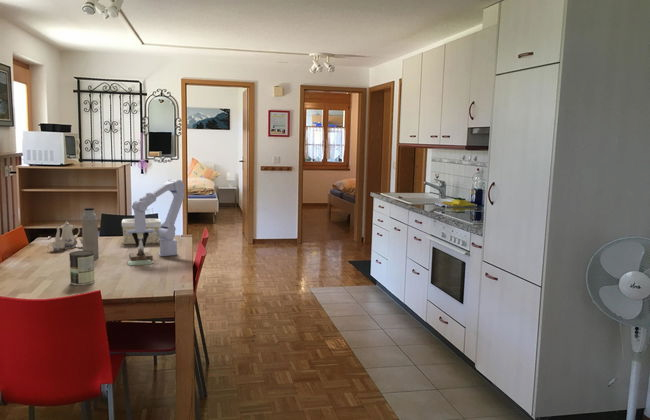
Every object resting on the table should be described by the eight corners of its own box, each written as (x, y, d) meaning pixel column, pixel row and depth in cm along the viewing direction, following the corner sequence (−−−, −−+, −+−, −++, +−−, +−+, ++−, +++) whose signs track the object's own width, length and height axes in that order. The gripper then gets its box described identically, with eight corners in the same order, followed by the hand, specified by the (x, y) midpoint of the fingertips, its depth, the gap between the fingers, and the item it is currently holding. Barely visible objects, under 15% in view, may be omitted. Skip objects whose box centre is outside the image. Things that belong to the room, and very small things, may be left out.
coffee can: (66, 285, 241) (65, 254, 239) (75, 279, 251) (74, 250, 249) (90, 285, 242) (89, 255, 240) (97, 279, 252) (96, 250, 250)
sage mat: (150, 260, 293) (149, 259, 293) (152, 264, 285) (152, 262, 285) (126, 262, 288) (126, 261, 288) (128, 265, 280) (128, 264, 280)
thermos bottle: (90, 255, 302) (88, 207, 298) (101, 257, 299) (100, 207, 296) (79, 258, 294) (77, 208, 291) (91, 260, 292) (89, 209, 288)
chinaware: (55, 256, 307) (56, 228, 304) (39, 249, 316) (39, 222, 313) (98, 248, 330) (99, 222, 327) (82, 242, 339) (83, 217, 336)
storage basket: (160, 239, 357) (160, 217, 355) (161, 243, 341) (161, 221, 340) (122, 240, 349) (122, 218, 347) (121, 245, 334) (121, 222, 332)
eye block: (149, 256, 304) (149, 251, 304) (152, 260, 294) (152, 255, 294) (129, 257, 299) (129, 253, 299) (131, 261, 290) (131, 257, 289)
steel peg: (143, 253, 299) (143, 237, 298) (144, 254, 296) (143, 238, 295) (137, 253, 297) (137, 238, 296) (138, 255, 294) (137, 239, 293)
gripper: (152, 220, 301) (153, 244, 303) (125, 221, 295) (126, 245, 296) (154, 222, 295) (155, 246, 296) (126, 223, 288) (127, 248, 290)
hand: (140, 246), depth 296 cm, fingers closed on steel peg, 3 cm apart
